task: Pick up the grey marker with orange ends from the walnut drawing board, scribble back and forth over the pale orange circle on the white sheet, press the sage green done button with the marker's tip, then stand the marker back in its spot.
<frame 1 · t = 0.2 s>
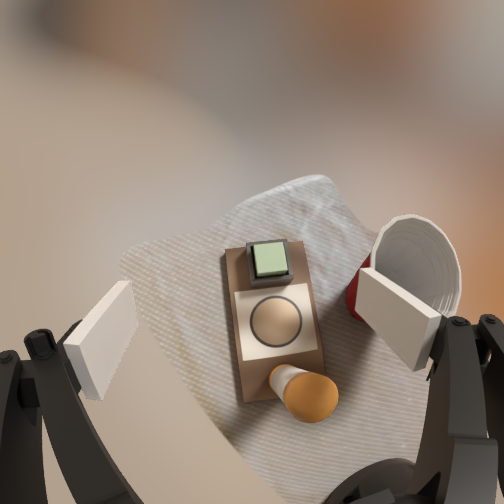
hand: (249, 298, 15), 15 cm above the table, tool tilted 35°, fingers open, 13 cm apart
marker: (284, 379, 26), point 1 cm above the table, touching board
board: (274, 320, 29), on the table
done button: (269, 260, 28), point 3 cm above the table, slide at 0.0 cm
plastic cup: (366, 300, 31), on the table
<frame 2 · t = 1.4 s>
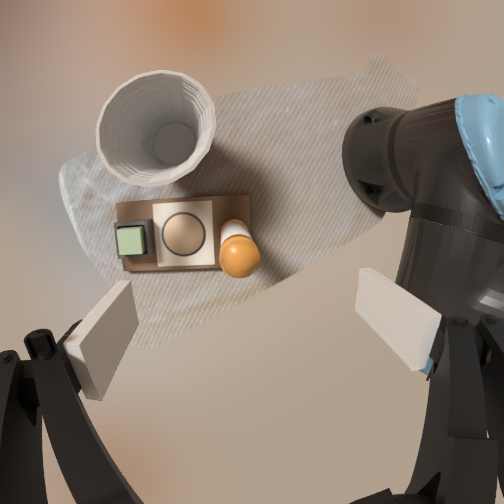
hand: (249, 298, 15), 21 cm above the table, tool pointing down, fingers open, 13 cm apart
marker: (234, 232, 34), point 1 cm above the table, touching board
board: (183, 232, 34), on the table
done button: (131, 240, 31), point 3 cm above the table, slide at 0.0 cm
plastic cup: (176, 143, 31), on the table
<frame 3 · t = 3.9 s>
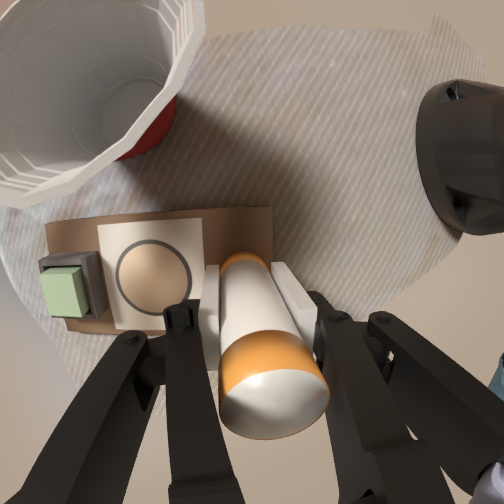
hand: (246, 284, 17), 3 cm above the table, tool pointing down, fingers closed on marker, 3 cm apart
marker: (243, 275, 19), point 1 cm above the table, touching board, gripper
board: (153, 274, 19), on the table
done button: (66, 290, 15), point 3 cm above the table, slide at 0.0 cm
plastic cup: (139, 115, 16), on the table
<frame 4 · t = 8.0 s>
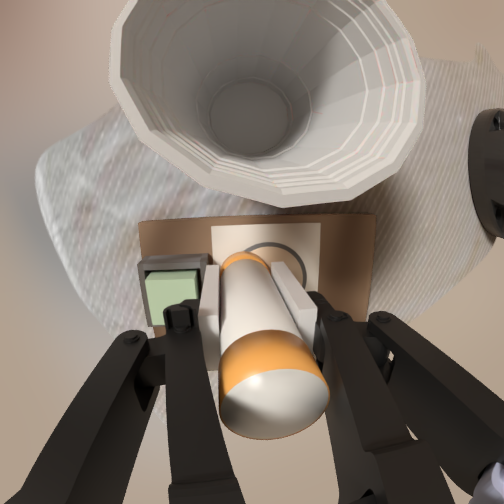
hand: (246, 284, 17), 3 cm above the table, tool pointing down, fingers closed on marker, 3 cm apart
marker: (243, 275, 19), point 1 cm above the table, touching gripper
board: (263, 276, 20), on the table
done button: (174, 296, 17), point 3 cm above the table, slide at 0.0 cm
plastic cup: (252, 116, 17), on the table
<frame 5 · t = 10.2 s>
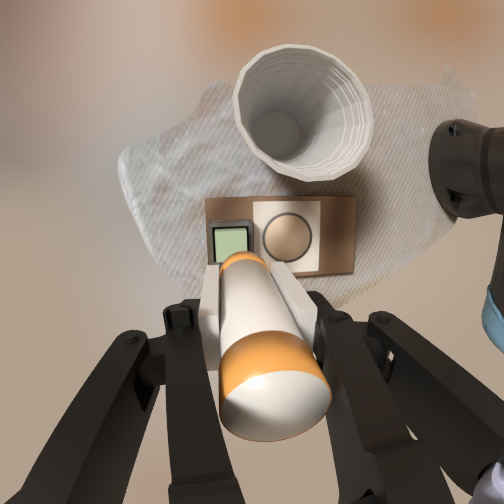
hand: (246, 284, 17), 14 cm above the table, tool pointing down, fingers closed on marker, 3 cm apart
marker: (243, 275, 18), point 12 cm above the table, touching gripper
board: (283, 236, 31), on the table
done button: (230, 244, 27), point 3 cm above the table, slide at 0.0 cm
plastic cup: (277, 133, 28), on the table
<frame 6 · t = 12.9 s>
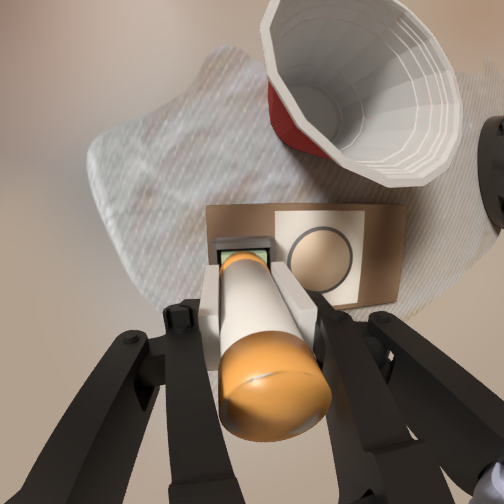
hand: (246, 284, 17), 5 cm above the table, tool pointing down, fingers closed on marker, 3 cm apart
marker: (243, 275, 18), point 3 cm above the table, touching done button, gripper
board: (314, 257, 22), on the table
done button: (243, 271, 19), point 2 cm above the table, slide at 0.6 cm, touching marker
plastic cup: (307, 117, 19), on the table
when the fingers open (4 cm above the table, at t = 16.5 s): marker drops 1 cm, resting on board.
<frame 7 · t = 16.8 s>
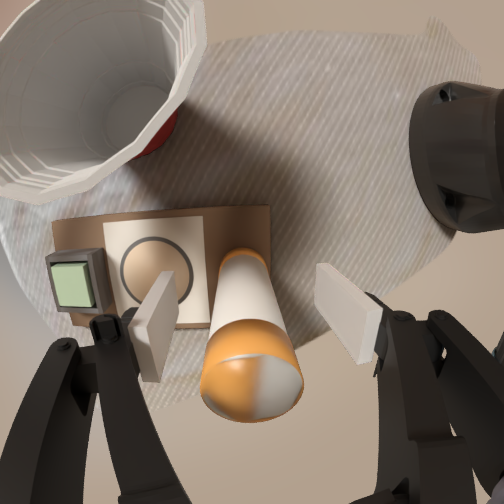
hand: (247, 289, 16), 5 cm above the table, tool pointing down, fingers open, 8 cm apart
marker: (243, 270, 19), point 1 cm above the table, touching board
board: (156, 270, 20), on the table
done button: (76, 282, 17), point 2 cm above the table, slide at 0.6 cm
plastic cup: (142, 118, 17), on the table
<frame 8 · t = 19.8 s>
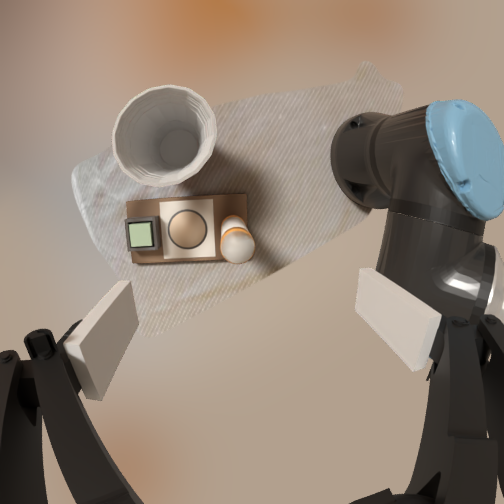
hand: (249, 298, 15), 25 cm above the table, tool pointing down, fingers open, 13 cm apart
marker: (233, 226, 38), point 1 cm above the table, touching board
board: (186, 228, 38), on the table
done button: (142, 233, 35), point 2 cm above the table, slide at 0.6 cm
plastic cup: (180, 147, 35), on the table
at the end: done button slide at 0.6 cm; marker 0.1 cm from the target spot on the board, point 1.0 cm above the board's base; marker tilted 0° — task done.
